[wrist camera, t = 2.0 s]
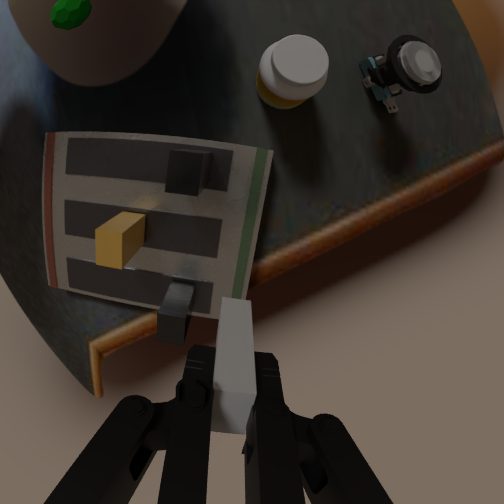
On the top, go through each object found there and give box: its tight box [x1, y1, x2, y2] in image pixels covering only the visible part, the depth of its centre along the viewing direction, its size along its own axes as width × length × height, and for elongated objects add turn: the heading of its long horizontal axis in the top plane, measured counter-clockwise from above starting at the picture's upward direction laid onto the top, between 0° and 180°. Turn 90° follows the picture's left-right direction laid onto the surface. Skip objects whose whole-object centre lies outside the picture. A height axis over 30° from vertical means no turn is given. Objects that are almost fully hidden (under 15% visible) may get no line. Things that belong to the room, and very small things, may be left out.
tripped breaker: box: [95, 212, 146, 269], centre depth 24 cm, size 2×3×6 cm
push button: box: [359, 35, 442, 113], centre depth 21 cm, size 7×5×10 cm
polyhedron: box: [50, 0, 92, 30], centre depth 18 cm, size 5×5×5 cm
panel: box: [42, 132, 273, 346], centre depth 25 cm, size 24×18×10 cm
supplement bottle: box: [256, 35, 329, 109], centre depth 21 cm, size 5×5×10 cm
